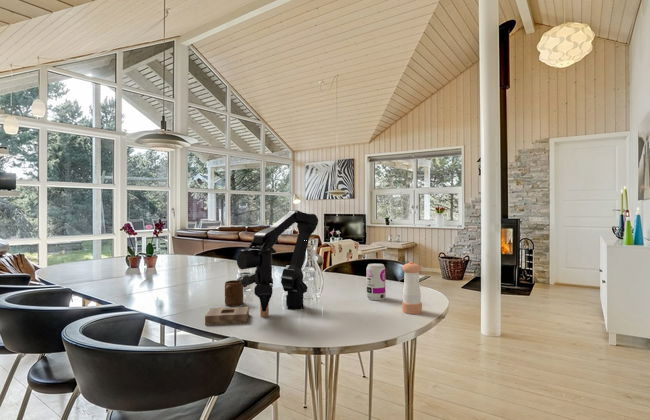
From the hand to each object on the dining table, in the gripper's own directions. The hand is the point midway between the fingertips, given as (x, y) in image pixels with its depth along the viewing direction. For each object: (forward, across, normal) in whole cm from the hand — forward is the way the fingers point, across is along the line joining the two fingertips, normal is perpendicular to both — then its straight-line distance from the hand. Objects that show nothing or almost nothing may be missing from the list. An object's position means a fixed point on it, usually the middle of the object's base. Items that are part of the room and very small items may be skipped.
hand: (264, 308), depth 133 cm
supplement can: (+3, -19, +48) cm, 52 cm away
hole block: (+3, +2, -13) cm, 13 cm away
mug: (+3, -18, -14) cm, 23 cm away
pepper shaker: (+3, +3, +56) cm, 56 cm away
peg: (+3, 0, 0) cm, 3 cm away
